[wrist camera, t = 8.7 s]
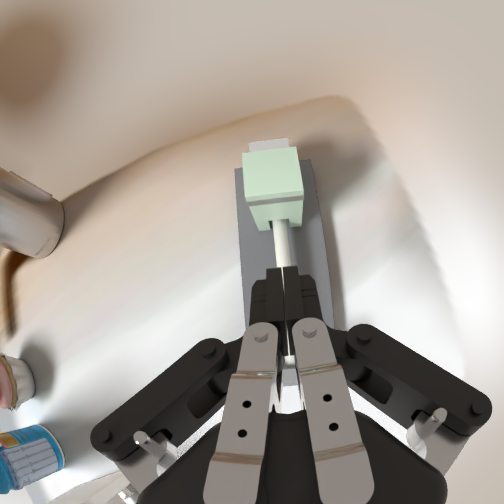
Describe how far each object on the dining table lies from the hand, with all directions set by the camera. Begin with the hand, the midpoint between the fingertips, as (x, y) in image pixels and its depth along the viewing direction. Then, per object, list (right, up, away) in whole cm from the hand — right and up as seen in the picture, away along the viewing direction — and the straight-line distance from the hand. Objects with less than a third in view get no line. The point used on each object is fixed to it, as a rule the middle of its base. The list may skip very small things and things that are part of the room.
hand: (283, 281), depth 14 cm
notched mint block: (+1, +5, +13) cm, 14 cm away
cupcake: (-37, -18, +16) cm, 44 cm away
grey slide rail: (+2, +1, +14) cm, 14 cm away
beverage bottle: (-33, -29, +13) cm, 45 cm away
